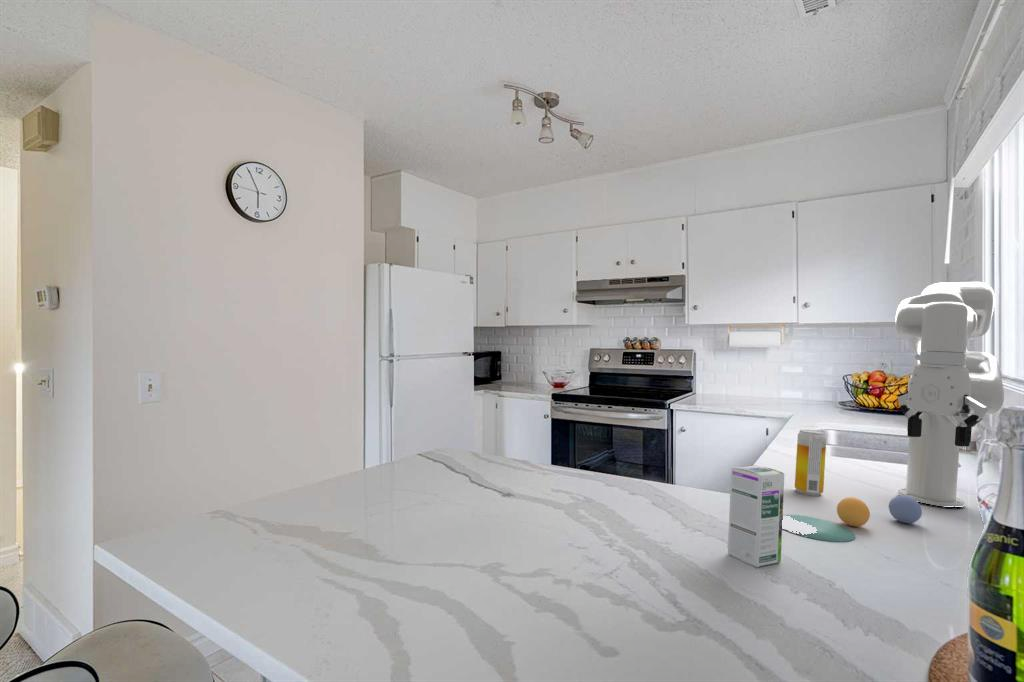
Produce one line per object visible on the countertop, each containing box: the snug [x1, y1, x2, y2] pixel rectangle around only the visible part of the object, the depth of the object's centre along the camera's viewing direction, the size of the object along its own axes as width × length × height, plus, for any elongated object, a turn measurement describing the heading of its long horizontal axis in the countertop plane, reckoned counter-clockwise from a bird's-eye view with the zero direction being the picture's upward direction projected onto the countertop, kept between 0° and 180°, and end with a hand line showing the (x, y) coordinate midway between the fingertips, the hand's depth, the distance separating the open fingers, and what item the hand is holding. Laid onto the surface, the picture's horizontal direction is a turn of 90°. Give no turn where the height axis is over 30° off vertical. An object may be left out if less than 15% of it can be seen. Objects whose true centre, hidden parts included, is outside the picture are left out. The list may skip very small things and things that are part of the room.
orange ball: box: [836, 496, 871, 527], centre depth 104 cm, size 6×6×6 cm
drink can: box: [794, 429, 827, 497], centre depth 128 cm, size 6×6×15 cm
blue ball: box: [888, 495, 923, 524], centre depth 108 cm, size 6×6×6 cm
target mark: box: [785, 514, 857, 543], centre depth 102 cm, size 14×14×1 cm
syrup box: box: [727, 464, 785, 568], centre depth 85 cm, size 6×6×14 cm
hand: (937, 441), depth 111 cm, fingers open, 9 cm apart
